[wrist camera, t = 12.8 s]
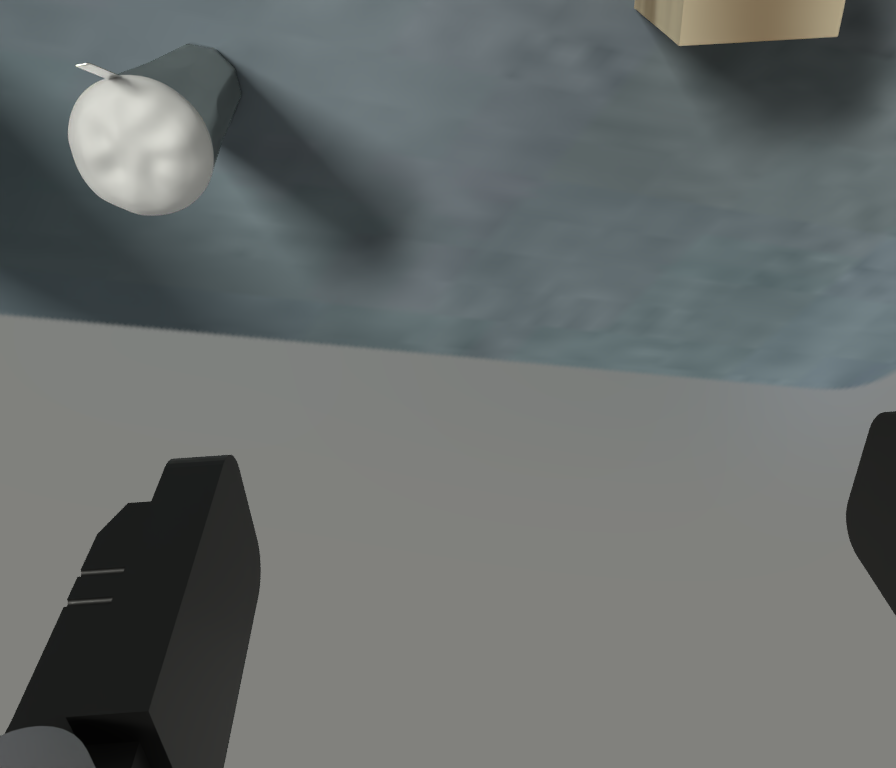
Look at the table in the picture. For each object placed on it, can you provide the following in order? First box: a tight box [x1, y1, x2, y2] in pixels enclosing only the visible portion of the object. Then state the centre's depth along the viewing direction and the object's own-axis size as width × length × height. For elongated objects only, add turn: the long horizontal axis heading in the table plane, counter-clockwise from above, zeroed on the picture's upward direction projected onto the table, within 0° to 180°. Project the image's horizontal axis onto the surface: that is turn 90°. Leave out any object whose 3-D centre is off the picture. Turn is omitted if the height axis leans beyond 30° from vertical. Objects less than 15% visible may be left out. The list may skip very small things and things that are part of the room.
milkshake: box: [68, 44, 242, 216], centre depth 28 cm, size 5×5×10 cm
